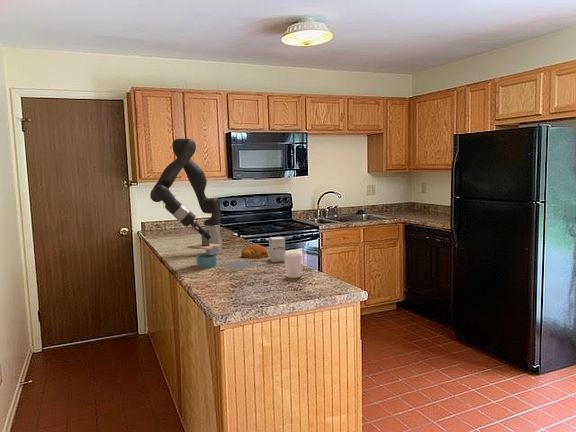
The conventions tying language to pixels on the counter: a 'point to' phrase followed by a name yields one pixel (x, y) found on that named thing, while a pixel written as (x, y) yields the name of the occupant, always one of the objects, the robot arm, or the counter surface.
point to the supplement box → (276, 249)
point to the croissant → (254, 252)
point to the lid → (205, 243)
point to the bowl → (206, 260)
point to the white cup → (293, 265)
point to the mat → (239, 265)
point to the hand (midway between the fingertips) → (209, 237)
